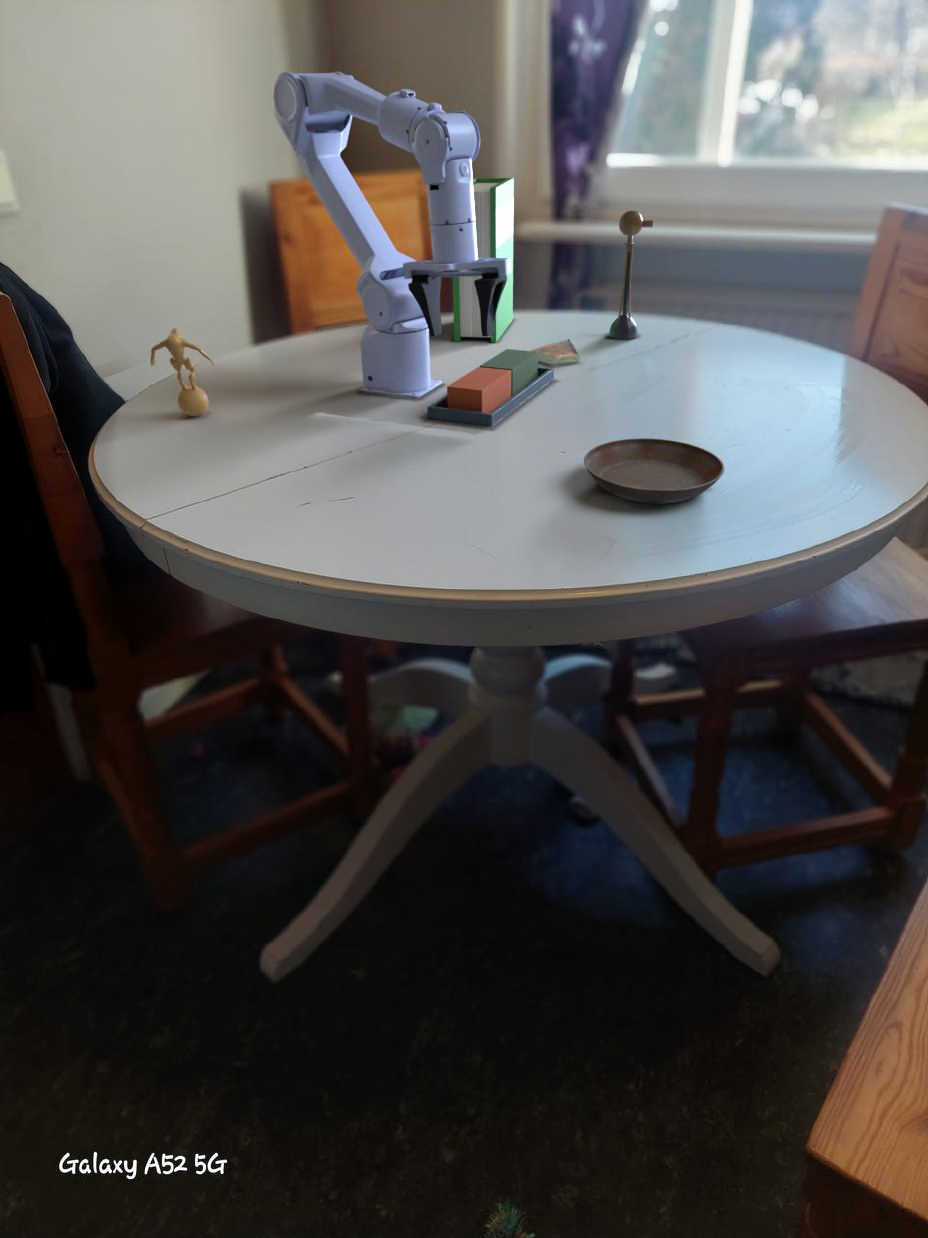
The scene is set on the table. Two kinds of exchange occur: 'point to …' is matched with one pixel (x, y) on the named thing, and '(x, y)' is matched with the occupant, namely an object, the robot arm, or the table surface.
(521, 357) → the rear pad
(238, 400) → the table surface
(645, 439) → the saucer
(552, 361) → the tan flat wedge
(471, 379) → the reddish orange rectangular block
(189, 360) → the figurine
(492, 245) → the hardback book
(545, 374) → the tray
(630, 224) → the ball topped stand
